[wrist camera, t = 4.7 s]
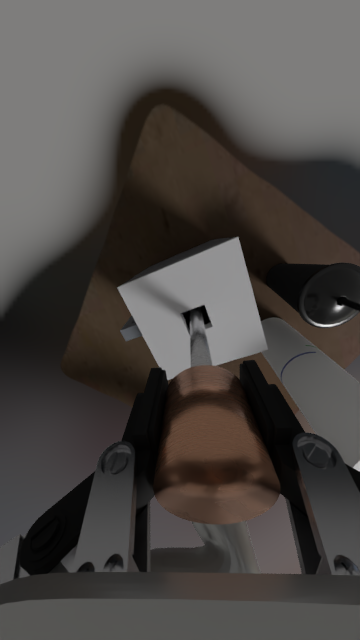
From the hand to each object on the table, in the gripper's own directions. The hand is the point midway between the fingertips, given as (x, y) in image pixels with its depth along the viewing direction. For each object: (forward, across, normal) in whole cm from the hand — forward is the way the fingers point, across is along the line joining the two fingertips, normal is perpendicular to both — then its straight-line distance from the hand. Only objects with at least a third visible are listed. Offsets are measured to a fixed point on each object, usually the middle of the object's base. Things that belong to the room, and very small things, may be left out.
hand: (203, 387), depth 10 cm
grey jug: (+27, +2, 0) cm, 27 cm away
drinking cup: (+27, -16, 0) cm, 31 cm away
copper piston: (+18, 0, 0) cm, 18 cm away
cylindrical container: (+27, -15, +12) cm, 33 cm away
